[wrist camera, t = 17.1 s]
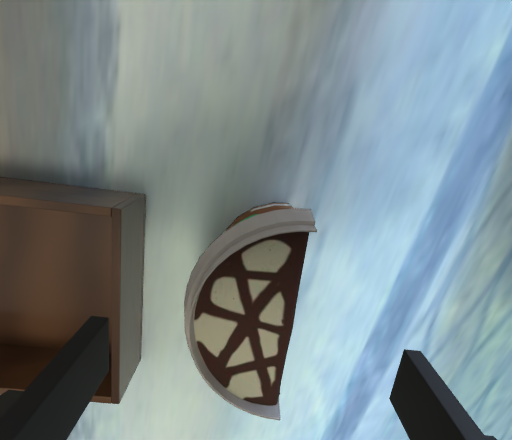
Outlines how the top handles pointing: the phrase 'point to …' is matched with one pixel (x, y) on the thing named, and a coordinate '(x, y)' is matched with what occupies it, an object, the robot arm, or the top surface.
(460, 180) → the top surface
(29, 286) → the wooden tray
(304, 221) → the food container
